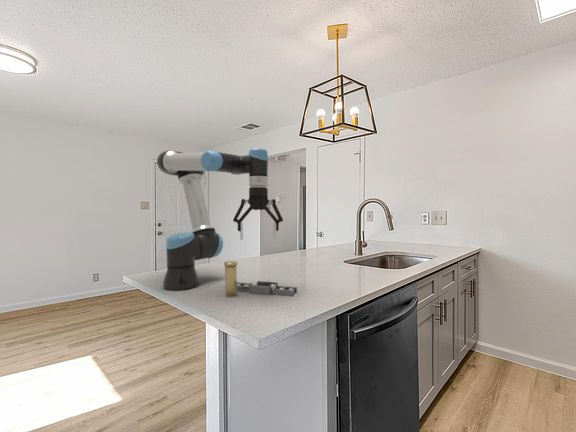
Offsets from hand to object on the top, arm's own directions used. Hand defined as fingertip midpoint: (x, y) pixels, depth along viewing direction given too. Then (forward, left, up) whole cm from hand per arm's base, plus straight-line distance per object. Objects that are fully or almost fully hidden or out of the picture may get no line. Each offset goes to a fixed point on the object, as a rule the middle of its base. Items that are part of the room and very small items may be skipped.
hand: (258, 239), depth 126 cm
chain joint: (+2, +1, -22) cm, 22 cm away
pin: (-8, -8, -22) cm, 25 cm away
